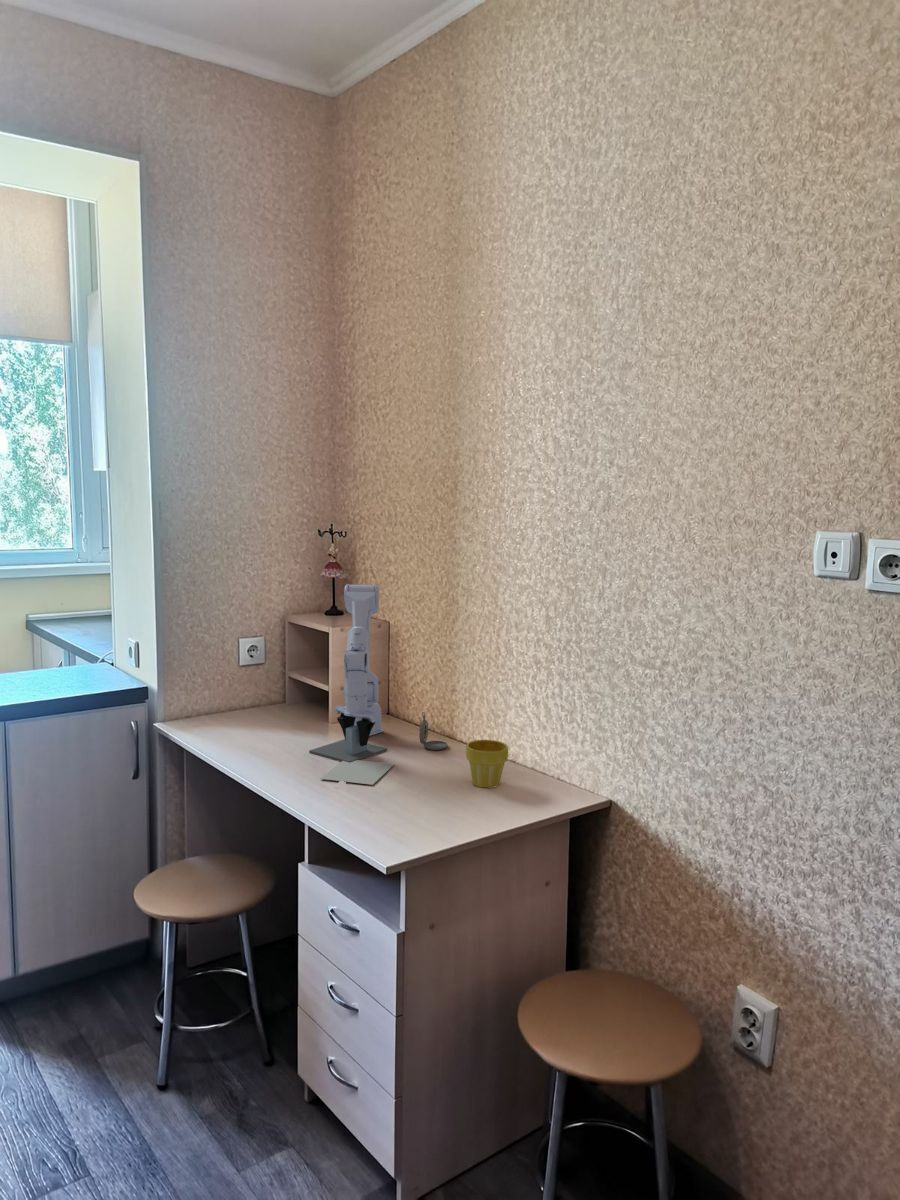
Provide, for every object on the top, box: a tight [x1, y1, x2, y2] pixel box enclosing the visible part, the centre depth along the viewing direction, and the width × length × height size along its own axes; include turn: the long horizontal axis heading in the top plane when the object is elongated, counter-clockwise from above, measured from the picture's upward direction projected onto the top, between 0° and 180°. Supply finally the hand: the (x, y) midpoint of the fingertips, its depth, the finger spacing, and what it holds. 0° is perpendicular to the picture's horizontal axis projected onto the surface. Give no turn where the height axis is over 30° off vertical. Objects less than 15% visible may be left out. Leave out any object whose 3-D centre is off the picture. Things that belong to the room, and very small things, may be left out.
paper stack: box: [319, 759, 395, 786], centre depth 215 cm, size 23×25×1 cm
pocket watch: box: [418, 711, 448, 751], centre depth 242 cm, size 8×8×10 cm
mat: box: [308, 738, 388, 762], centre depth 237 cm, size 15×15×1 cm
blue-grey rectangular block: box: [346, 725, 367, 755], centre depth 235 cm, size 6×2×7 cm, turn 143°
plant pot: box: [465, 739, 509, 788], centre depth 213 cm, size 10×10×10 cm
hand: (356, 743), depth 235 cm, fingers open, 5 cm apart
